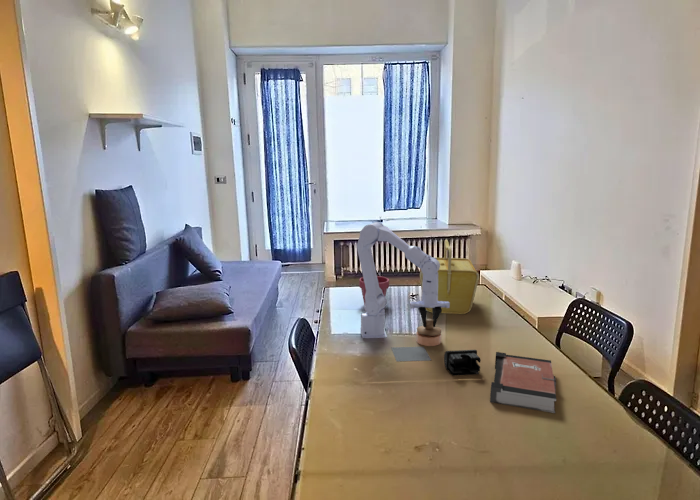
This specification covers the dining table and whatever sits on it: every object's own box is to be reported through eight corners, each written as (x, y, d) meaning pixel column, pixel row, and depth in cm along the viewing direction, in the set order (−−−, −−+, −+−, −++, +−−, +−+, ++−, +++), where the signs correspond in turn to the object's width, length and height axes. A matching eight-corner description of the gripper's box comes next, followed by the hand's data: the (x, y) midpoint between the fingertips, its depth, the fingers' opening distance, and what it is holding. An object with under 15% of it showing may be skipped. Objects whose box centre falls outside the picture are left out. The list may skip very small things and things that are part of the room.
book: (557, 415, 122) (559, 397, 121) (489, 403, 128) (490, 387, 127) (552, 374, 146) (553, 359, 146) (495, 366, 152) (496, 351, 152)
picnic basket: (418, 296, 233) (419, 238, 228) (469, 297, 230) (472, 239, 224) (418, 314, 205) (420, 248, 199) (477, 316, 201) (481, 249, 196)
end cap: (472, 365, 152) (473, 346, 151) (481, 375, 145) (482, 355, 144) (443, 367, 151) (444, 348, 149) (450, 377, 144) (451, 356, 142)
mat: (396, 362, 154) (396, 361, 154) (391, 348, 166) (391, 347, 166) (431, 361, 155) (431, 360, 155) (423, 347, 167) (423, 346, 167)
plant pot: (389, 309, 211) (390, 282, 209) (359, 309, 211) (359, 282, 209) (387, 300, 225) (388, 275, 223) (359, 300, 225) (359, 275, 223)
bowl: (419, 347, 167) (419, 338, 167) (414, 338, 176) (414, 329, 175) (443, 346, 168) (443, 337, 167) (437, 337, 177) (437, 328, 176)
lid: (418, 335, 166) (418, 323, 166) (415, 327, 175) (415, 316, 175) (443, 335, 166) (443, 323, 166) (439, 327, 175) (439, 316, 175)
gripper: (412, 294, 164) (411, 330, 166) (452, 293, 165) (451, 329, 167) (409, 289, 171) (408, 323, 173) (447, 288, 172) (445, 323, 174)
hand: (429, 326), depth 171 cm, fingers closed on lid, 3 cm apart
